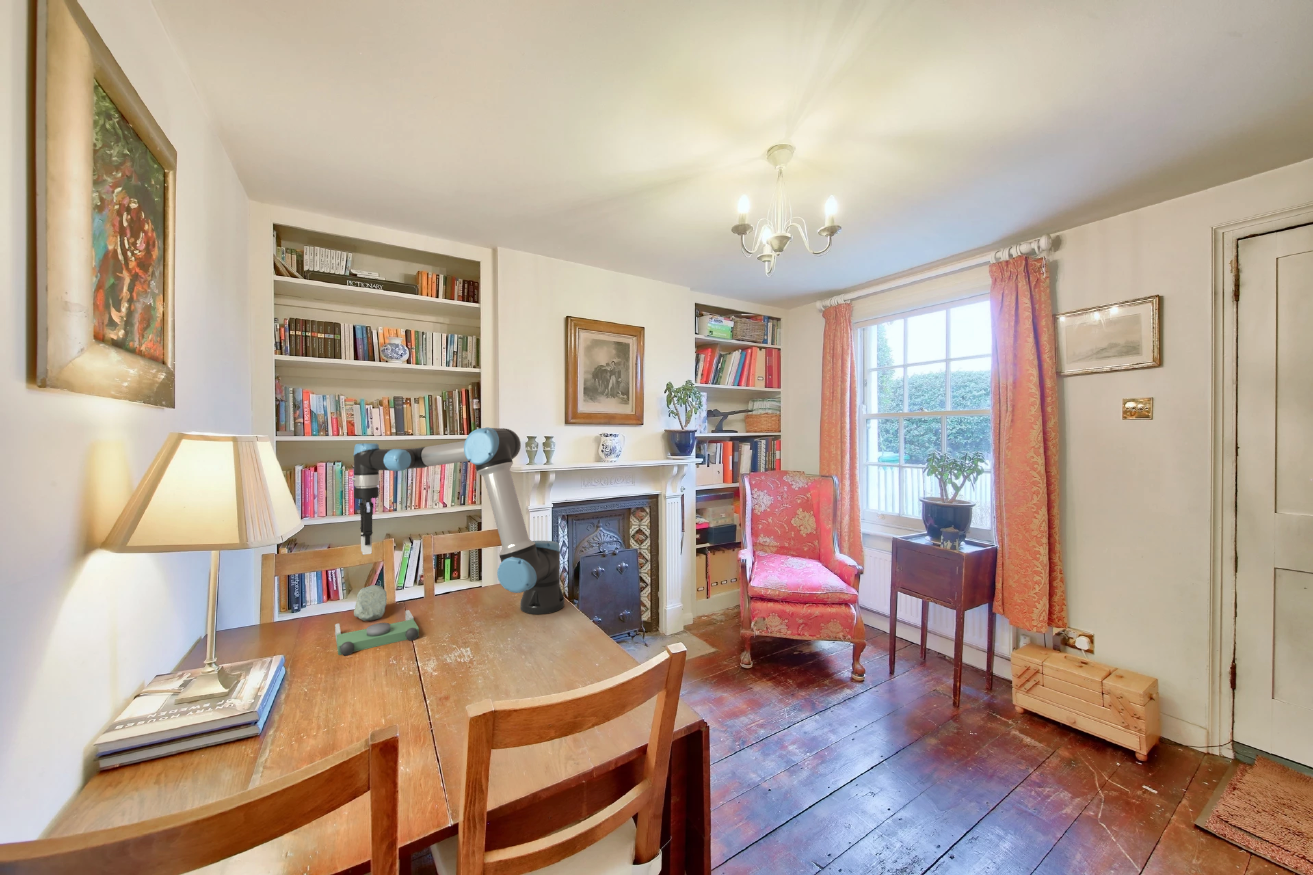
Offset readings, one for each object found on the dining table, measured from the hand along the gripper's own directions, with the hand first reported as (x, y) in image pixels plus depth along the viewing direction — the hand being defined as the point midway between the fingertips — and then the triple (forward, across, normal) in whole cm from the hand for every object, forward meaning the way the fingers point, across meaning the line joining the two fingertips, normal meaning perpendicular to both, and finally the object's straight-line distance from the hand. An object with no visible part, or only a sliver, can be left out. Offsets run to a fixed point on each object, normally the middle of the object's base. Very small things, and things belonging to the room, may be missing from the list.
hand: (366, 552), depth 167 cm
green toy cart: (+19, +32, 0) cm, 37 cm away
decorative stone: (+19, +14, 0) cm, 23 cm away
